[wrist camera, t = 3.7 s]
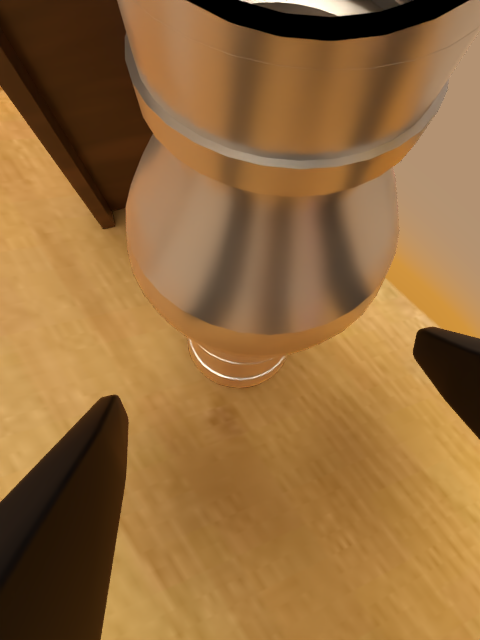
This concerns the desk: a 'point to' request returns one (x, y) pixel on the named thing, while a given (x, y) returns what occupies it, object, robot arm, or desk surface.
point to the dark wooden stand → (76, 93)
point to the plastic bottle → (276, 162)
